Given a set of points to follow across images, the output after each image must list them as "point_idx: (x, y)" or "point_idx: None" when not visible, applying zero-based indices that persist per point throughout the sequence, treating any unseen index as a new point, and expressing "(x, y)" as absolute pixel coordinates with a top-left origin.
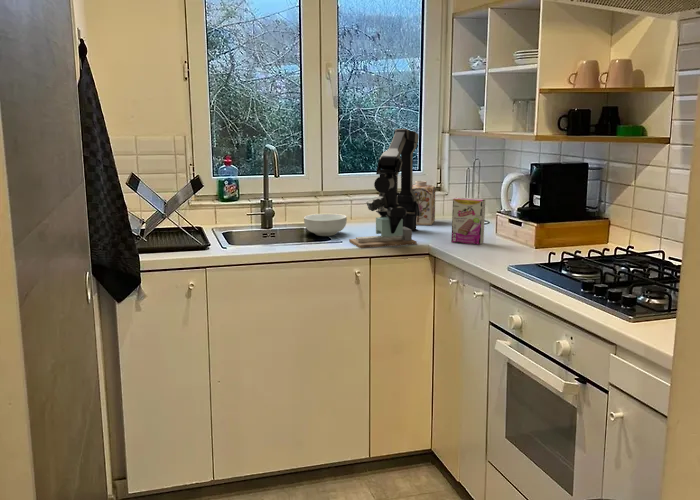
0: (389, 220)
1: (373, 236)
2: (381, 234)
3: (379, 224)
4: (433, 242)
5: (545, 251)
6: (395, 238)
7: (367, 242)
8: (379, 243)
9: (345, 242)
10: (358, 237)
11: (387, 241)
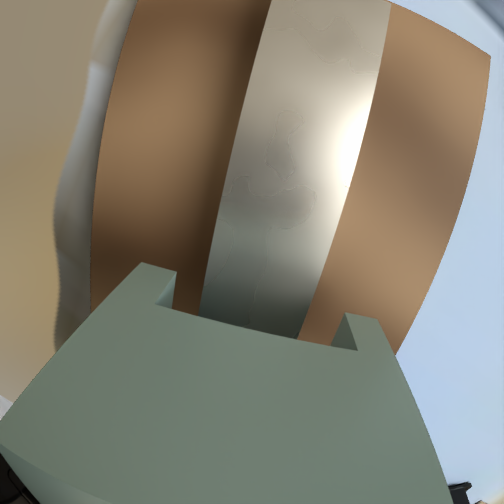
0: (20, 486)
1: (309, 226)
2: (151, 278)
3: (213, 408)
4: None
5: None
6: None
7: (235, 81)
8: (118, 175)
9: (468, 22)
10: (358, 14)
11: (175, 306)
